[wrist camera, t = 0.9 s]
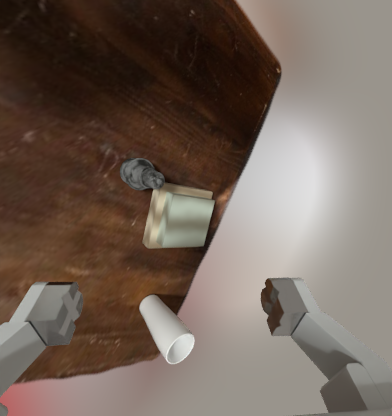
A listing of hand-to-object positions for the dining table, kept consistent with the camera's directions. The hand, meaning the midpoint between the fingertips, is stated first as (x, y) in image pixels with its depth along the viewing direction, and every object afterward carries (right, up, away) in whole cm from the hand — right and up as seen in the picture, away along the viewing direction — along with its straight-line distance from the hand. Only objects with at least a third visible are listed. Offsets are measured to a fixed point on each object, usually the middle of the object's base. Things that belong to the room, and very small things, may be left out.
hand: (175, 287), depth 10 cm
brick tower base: (-4, +2, +43) cm, 43 cm away
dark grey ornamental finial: (-11, +11, +34) cm, 38 cm away
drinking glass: (-11, -20, +45) cm, 51 cm away
